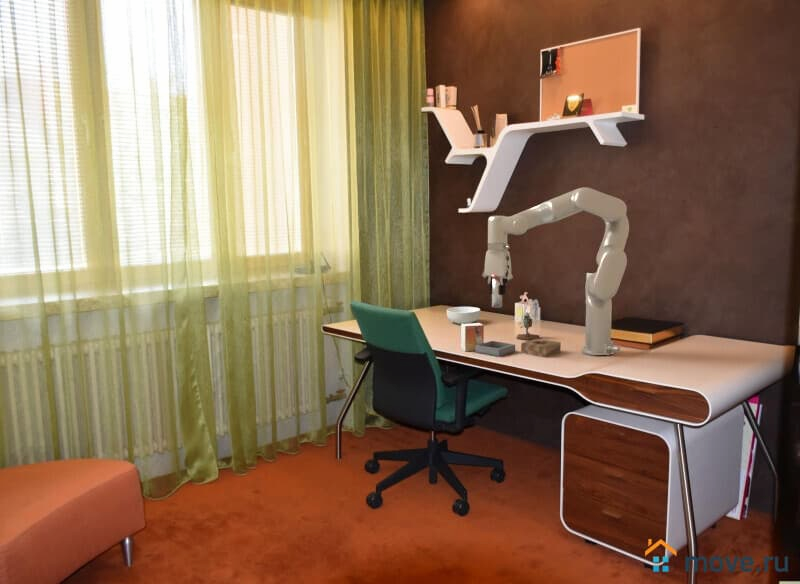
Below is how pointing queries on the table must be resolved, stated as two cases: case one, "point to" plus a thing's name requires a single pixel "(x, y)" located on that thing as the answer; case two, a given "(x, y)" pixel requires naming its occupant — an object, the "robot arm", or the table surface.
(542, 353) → the block
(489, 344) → the tray
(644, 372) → the table surface
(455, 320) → the cereal bowl
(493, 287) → the pin
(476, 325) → the small box
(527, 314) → the bonsai tree
